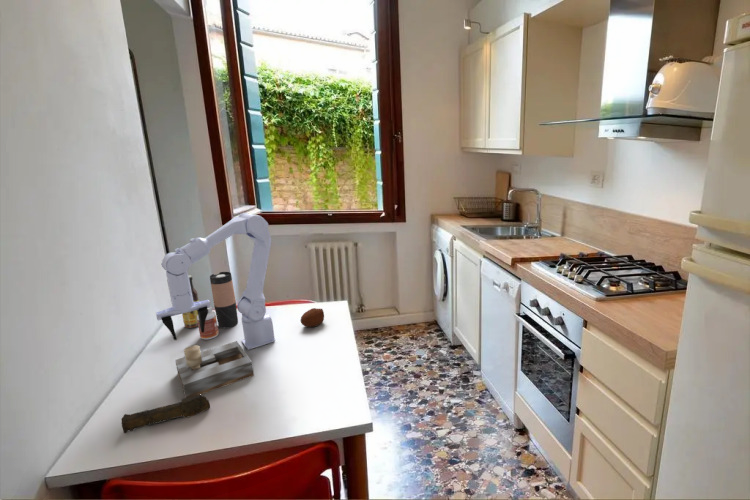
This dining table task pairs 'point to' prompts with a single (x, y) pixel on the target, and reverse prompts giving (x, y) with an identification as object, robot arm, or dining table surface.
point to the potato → (312, 317)
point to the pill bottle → (209, 326)
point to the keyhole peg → (193, 357)
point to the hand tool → (165, 412)
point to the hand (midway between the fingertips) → (189, 334)
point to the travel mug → (224, 299)
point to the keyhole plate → (215, 369)
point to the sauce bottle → (191, 317)
